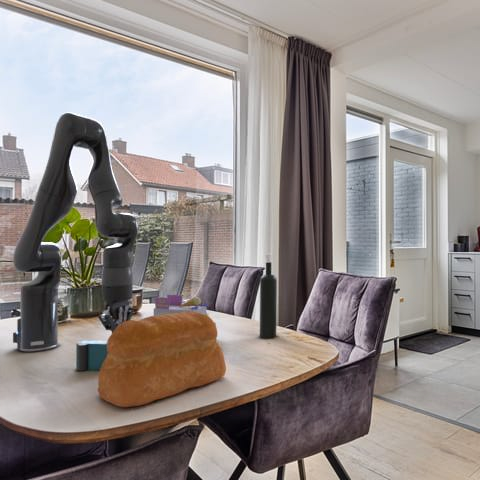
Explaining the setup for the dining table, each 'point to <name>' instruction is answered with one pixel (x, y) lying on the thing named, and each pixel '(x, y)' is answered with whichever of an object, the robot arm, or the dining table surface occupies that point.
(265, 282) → the wine bottle
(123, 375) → the bread
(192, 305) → the toy vehicle
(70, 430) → the dining table surface
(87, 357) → the teal block
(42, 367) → the dining table surface
